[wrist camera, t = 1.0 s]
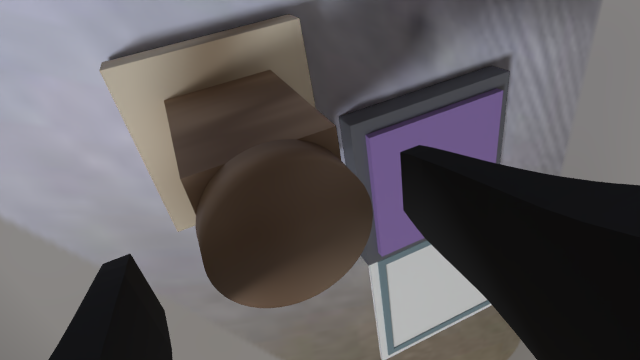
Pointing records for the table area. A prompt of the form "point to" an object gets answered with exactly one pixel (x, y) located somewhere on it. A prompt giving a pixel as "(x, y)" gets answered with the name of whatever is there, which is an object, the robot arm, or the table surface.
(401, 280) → the form card
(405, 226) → the ink pad
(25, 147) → the table surface
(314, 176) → the stamp
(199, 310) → the table surface
